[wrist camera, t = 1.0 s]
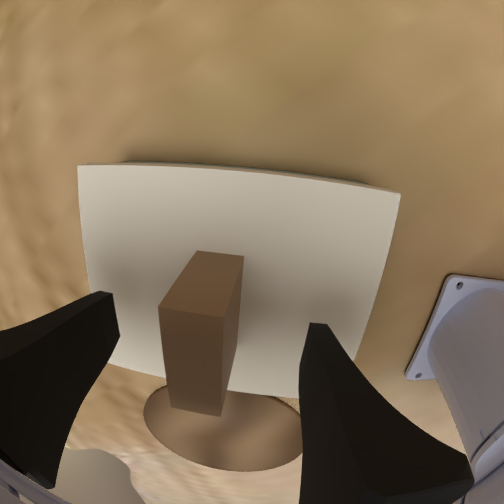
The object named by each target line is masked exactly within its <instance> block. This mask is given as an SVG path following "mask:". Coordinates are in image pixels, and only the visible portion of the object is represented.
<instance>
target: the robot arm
mask: <svg viewBox="0 0 504 504" xmlns="http://www.w3.org/2000/svg"><path fill="white" fill-rule="evenodd" d="M459 282H460V284H459V285H458V286H457V284H458V283H459ZM119 338H120V331H119V326H118V321H117V316H116V310H115V304H114V298H113V293H109V292H104V291H97V292H94V293H92V294H89V295H87V296H85V297H82V298H80V299H78V300H76V301H74V302H72V303H70V304H68V305H66V306H63V307H61V308H59V309H57V310H55V311H53V312H51V313H48V314H46V315H44V316H41V317H39V318H37V319H35V320H32V321H30V322H27V323H25V324H22V325H19V326H16V327H13V328H10V329H7V330H3V331H0V504H25V503H24V502H23V501H21V500H20V498H19V494H18V493H20V494H21V495H23V496H24V497H26V498H27V499H28V500H30V501H32V502H33V503H35V504H71V503H69V502H67V501H65V500H63V499H62V498H60V497H58V496H56V495H54V494H52V493H51V492H49V491H47V490H46V489H52V488H54V487H55V483H56V478H57V473H58V468H59V464H60V459H61V456H62V452H63V449H64V446H65V443H66V440H67V437H68V434H69V432H70V429H71V426H72V424H73V421H74V419H75V417H76V415H77V412H78V410H79V408H80V406H81V404H82V402H83V400H84V398H85V397H86V395H87V393H88V392H89V390H90V389H91V387H92V386H93V384H94V382H95V381H96V379H97V378H98V376H99V375H100V373H101V372H102V370H103V368H104V367H105V365H106V364H107V362H108V361H109V359H110V357H111V355H112V353H113V351H114V349H115V347H116V345H117V343H118V340H119ZM405 377H406V379H407V380H428V379H436V380H437V382H438V384H439V387H440V389H441V391H442V393H443V396H444V398H445V400H446V402H447V405H448V407H449V410H450V412H451V414H452V417H453V419H454V422H455V424H456V427H457V429H458V432H459V434H460V437H461V440H462V442H463V445H464V448H465V451H466V453H467V456H468V459H469V461H468V459H467V456H466V455H465V454H463V453H461V452H459V451H457V450H455V449H453V448H451V447H450V446H448V445H446V444H444V443H442V442H440V441H439V440H437V439H435V438H434V437H432V436H431V435H429V434H428V433H426V432H425V431H423V430H422V429H420V428H419V427H418V426H416V425H415V424H413V423H412V422H411V421H410V420H408V419H407V418H406V417H405V416H404V415H402V414H401V413H400V412H399V411H397V410H396V409H395V408H394V407H393V406H392V405H391V404H390V403H389V402H388V401H387V400H386V399H385V398H384V397H383V396H382V395H381V394H380V393H379V392H378V391H377V390H376V389H375V388H374V387H373V386H372V385H371V384H370V383H369V381H368V380H367V379H366V378H365V377H364V375H363V374H362V373H361V372H360V370H359V369H358V368H357V366H356V365H355V364H354V362H353V361H352V360H351V358H350V357H349V356H348V354H347V353H346V351H345V350H344V348H343V347H342V345H341V344H340V342H339V341H338V339H337V338H336V336H335V335H334V333H333V332H332V330H331V329H330V327H329V326H328V324H322V323H312V322H310V323H309V328H308V332H307V336H306V340H305V344H304V348H303V352H302V356H301V360H300V364H299V384H298V392H299V405H300V417H301V429H302V444H303V456H302V474H301V487H300V498H299V504H453V503H454V502H455V503H454V504H504V281H502V280H494V279H486V278H478V277H470V276H462V275H450V276H448V277H447V278H446V280H445V282H444V285H443V288H442V290H441V293H440V296H439V298H438V301H437V304H436V306H435V309H434V311H433V314H432V316H431V319H430V321H429V323H428V326H427V328H426V330H425V333H424V335H423V337H422V339H421V341H420V344H419V346H418V348H417V350H416V352H415V354H414V356H413V358H412V360H411V362H410V364H409V366H408V368H407V370H406V372H405ZM469 462H470V464H469ZM17 471H18V472H17ZM19 472H20V473H21V474H23V475H25V476H26V477H28V478H29V479H31V480H32V481H34V482H36V483H37V484H39V485H40V486H39V485H37V484H36V483H34V482H32V481H31V480H29V479H28V478H26V477H25V476H23V475H21V474H20V473H19ZM41 486H42V487H44V488H45V489H44V488H42V487H41Z"/></svg>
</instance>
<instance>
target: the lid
mask: <svg viewBox="0 0 504 504" xmlns="http://www.w3.org/2000/svg"><path fill="white" fill-rule="evenodd" d="M78 192H79V207H80V219H81V230H82V239H83V247H84V254H85V261H86V268H87V274H88V280H89V286H90V291H91V294H92V293H94V292H97V291H104V292H109V293H113V298H114V304H115V310H116V316H117V321H118V326H119V331H120V338H119V340H118V343H117V345H116V347H115V349H114V351H113V353H112V355H111V357H110V359H109V361H108V362H107V363H110V364H113V365H117V366H120V367H124V368H127V369H131V370H135V371H138V372H142V373H146V374H150V375H154V376H158V377H163V378H166V380H167V387H168V393H169V399H170V405H171V407H172V408H176V409H181V410H185V411H190V412H195V413H200V414H205V415H211V416H216V417H221V413H222V409H223V405H224V400H225V396H226V392H227V390H230V391H237V392H244V393H252V394H260V395H269V396H278V397H289V398H299V392H298V384H299V364H300V360H301V356H302V352H303V348H304V344H305V340H306V336H307V332H308V328H309V323H310V322H312V323H322V324H328V326H329V327H330V329H331V330H332V332H333V333H334V335H335V336H336V338H337V339H338V341H339V342H340V344H341V345H342V347H343V348H344V350H345V351H346V353H347V354H348V356H349V357H350V358H351V360H352V361H354V359H355V356H356V353H357V351H358V348H359V345H360V343H361V340H362V337H363V334H364V331H365V329H366V326H367V323H368V320H369V317H370V314H371V311H372V307H373V304H374V301H375V298H376V295H377V291H378V288H379V285H380V281H381V278H382V274H383V271H384V267H385V263H386V259H387V256H388V252H389V248H390V244H391V239H392V235H393V231H394V227H395V222H396V218H397V213H398V208H399V203H400V198H401V194H400V193H398V192H396V191H395V190H391V189H386V188H381V187H376V186H370V185H364V184H358V183H353V182H346V181H340V180H334V179H327V178H320V177H313V176H305V175H298V174H290V173H281V172H272V171H263V170H253V169H242V168H231V167H218V166H203V165H186V164H163V163H86V164H82V165H78Z"/></svg>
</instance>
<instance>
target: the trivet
mask: <svg viewBox="0 0 504 504" xmlns="http://www.w3.org/2000/svg"><path fill="white" fill-rule="evenodd" d="M144 420H145V423H146V425H147V427H148V429H149V430H150V432H151V433H152V434H153V436H154V437H155V438H156V439H157V440H158V441H159V442H160V443H162V444H163V445H164V446H165V447H167V448H168V449H169V450H171V451H172V452H174V453H176V454H178V455H179V456H181V457H183V458H185V459H188V460H190V461H192V462H195V463H198V464H201V465H204V466H207V467H211V468H216V469H221V470H227V471H239V472H251V471H262V470H268V469H272V468H276V467H279V466H282V465H285V464H287V463H289V462H291V461H292V460H294V459H296V458H297V457H298V456H299V455H300V454H301V453H302V452H303V444H302V429H301V417H300V415H299V414H298V413H297V412H296V411H295V410H294V409H293V408H291V407H290V406H289V405H287V404H286V403H284V402H282V401H280V400H279V399H277V398H275V397H273V396H269V395H260V394H252V393H244V392H237V391H230V390H227V392H226V396H225V400H224V405H223V409H222V413H221V417H216V416H211V415H205V414H200V413H195V412H190V411H185V410H181V409H176V408H172V407H171V405H170V399H169V393H168V387H167V386H164V387H162V388H160V389H158V390H157V391H155V392H154V393H153V394H152V395H151V396H150V397H149V399H148V400H147V402H146V404H145V407H144Z"/></svg>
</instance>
